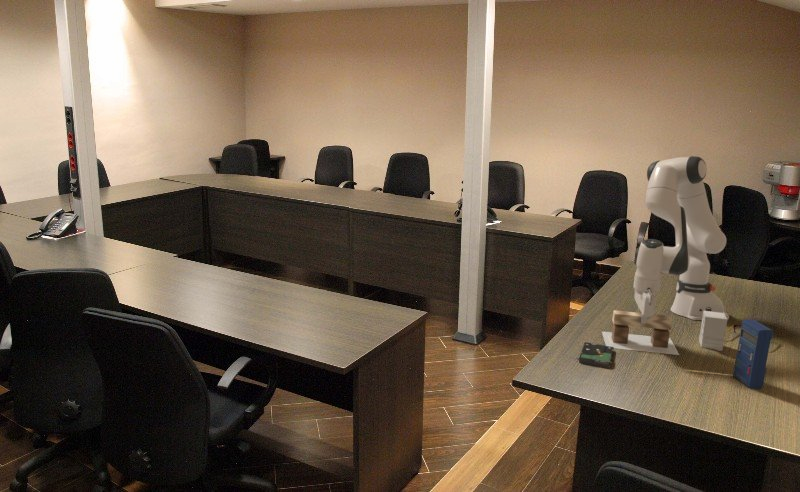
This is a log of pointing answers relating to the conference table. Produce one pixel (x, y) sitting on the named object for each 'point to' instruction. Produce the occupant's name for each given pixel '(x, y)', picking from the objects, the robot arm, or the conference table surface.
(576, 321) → the conference table surface
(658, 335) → the pillar
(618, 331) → the pillar
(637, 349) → the board
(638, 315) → the plank
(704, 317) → the supplement box
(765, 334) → the electronic device
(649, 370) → the conference table surface
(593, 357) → the disk drive
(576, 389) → the conference table surface
